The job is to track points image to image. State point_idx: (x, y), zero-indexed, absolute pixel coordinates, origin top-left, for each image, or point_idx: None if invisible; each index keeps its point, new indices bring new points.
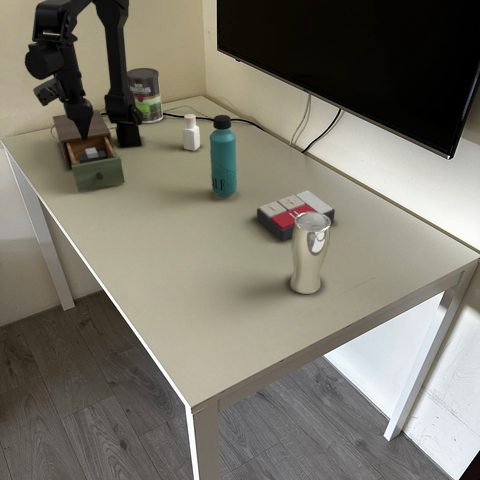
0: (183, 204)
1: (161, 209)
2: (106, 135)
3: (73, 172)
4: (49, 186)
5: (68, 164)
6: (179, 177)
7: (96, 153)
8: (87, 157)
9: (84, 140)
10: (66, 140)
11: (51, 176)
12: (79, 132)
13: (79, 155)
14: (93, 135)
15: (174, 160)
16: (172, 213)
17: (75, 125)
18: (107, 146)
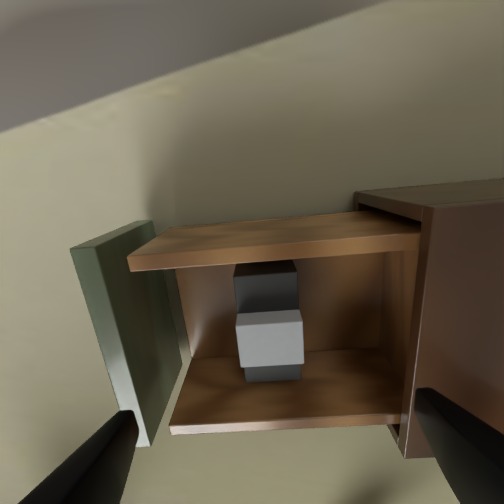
0: (45, 459)
1: (23, 416)
2: (399, 431)
3: (89, 240)
4: (234, 105)
5: (363, 198)
6: (186, 475)
7: (241, 361)
8: (250, 311)
9: None
10: (426, 243)
11: (323, 116)
12: (33, 489)
13: (287, 278)
14: (412, 389)
15: (288, 483)
16: (3, 432)
17: (431, 395)
18: (315, 404)
